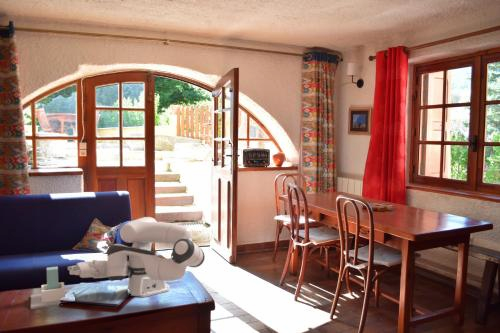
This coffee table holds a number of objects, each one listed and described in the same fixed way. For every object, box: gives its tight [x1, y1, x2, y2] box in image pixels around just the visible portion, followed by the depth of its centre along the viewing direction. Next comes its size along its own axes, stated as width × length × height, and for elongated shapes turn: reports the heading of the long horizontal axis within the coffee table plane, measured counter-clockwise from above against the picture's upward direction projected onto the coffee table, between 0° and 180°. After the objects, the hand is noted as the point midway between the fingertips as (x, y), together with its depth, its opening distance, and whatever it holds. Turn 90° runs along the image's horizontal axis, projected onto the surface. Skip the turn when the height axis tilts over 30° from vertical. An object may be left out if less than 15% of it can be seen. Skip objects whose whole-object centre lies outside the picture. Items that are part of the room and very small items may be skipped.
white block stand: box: [30, 281, 72, 310], centre depth 212 cm, size 20×18×6 cm
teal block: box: [46, 265, 59, 290], centre depth 212 cm, size 5×5×15 cm
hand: (68, 270), depth 212 cm, fingers open, 8 cm apart
